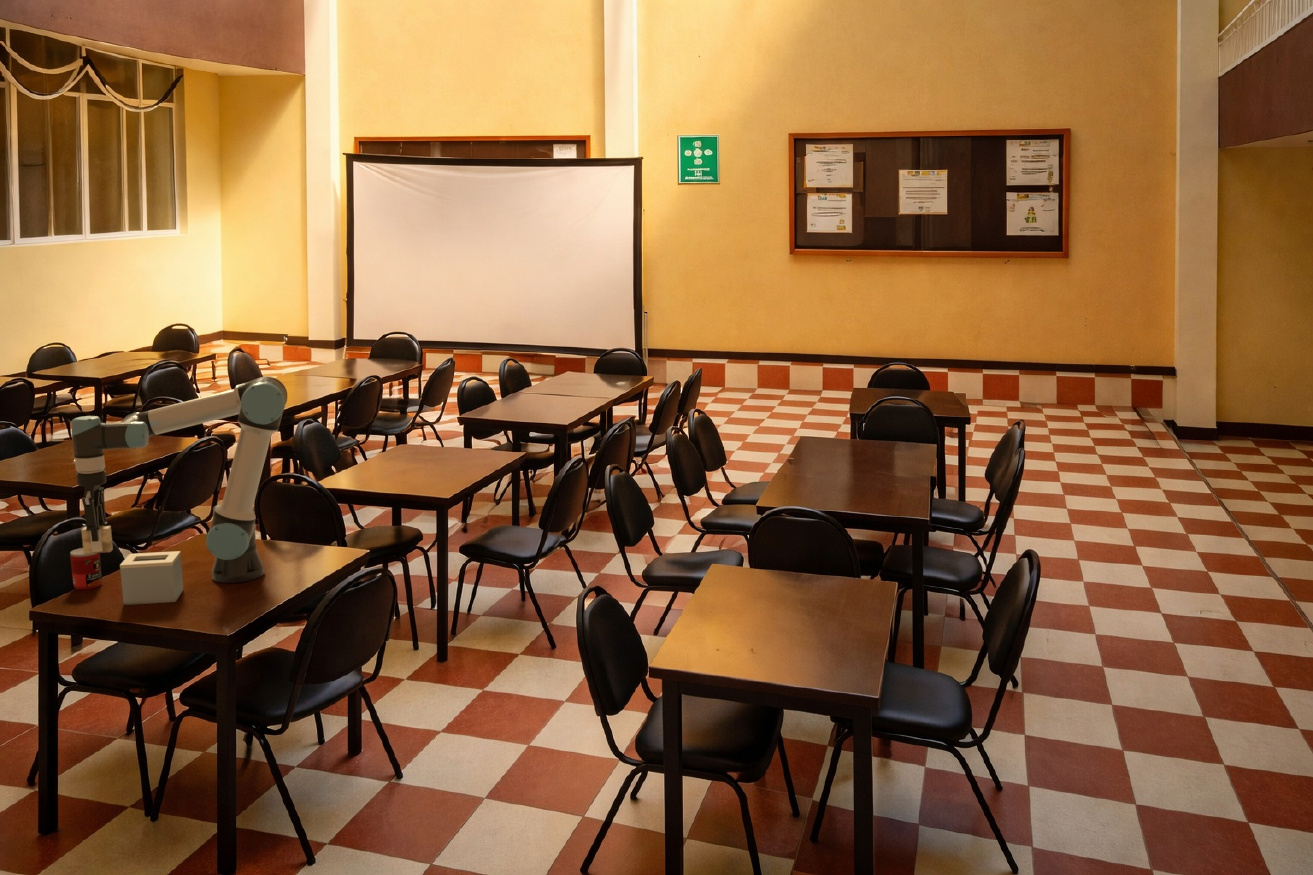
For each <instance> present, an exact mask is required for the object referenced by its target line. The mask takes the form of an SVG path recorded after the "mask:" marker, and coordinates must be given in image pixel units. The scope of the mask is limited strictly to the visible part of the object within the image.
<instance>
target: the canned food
mask: <svg viewBox="0 0 1313 875" xmlns="http://www.w3.org/2000/svg"><path fill="white" fill-rule="evenodd" d="M69 556H70V564H71V574H72V575H71V576H72V583H73V588H74V589H76V590H82V591H83V590H84V591H85V590H92V589H95V588H96V589H97V588H98V587H101V586H102V582H103V577H102V567H101V555H100V553H84V551H83V547H79V548H77V549H73V550H71V551H70V554H69Z"/></svg>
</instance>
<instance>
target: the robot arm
mask: <svg viewBox="0 0 1313 875" xmlns="http://www.w3.org/2000/svg"><path fill="white" fill-rule="evenodd" d="M287 402H288V390H287V388H286V386H285V384H283V382H282V381H280V380H279V379H277V378H276V377H272V376H261V377H257V378H255V379H252V380H250V381H248V382H243V383H241V384H237V385H236V386H235V388H234V389H230V390H226V391H221V392H217V393H215V394H210V395H206V396H202V397H198V398H194V399H190V400H187V401H183V402H177V403H174V404H171V405H166V406H162V407H158V408H155V409H150V410H147V411H141V412H133V413H130V414H128V415H126V416H125V417H124V418H123V419H122V420H121V421H120V422H111V423H109V422H108V423H107V422H106V423H105V422H102V421H101V418H100V416H97V415H96V416H95V415H86V416H79V417H75V418H73V419H72V420H71V422H70V423H71V425H70V426H71V434H70V436H71V440H72V446H73V447H72V448H73V454H74V455H73V456H74V459H73V461H72V462H73V464H75V471H76V474H75V475H76V484H77V485H78V486H79V487H83V488H84V492H83V497H82V498H81V502H82V506H83V512H84V518H85V524H86V526H85V527H87V529H86V531H90V538H91V547H92V552H102V551H103V547H102V538H101V529H99V526H108V521H107V517H106V514H107V513H106V505H105V503H106V502H105V488H104V487H101V486H102V485H104V484H106V483H107V480H108V479H107V474H106V472H107V471H106V469H105V468H106V462H105V453H104V450H119V449H120V450H123V449H124V450H125V449H133V450H134V449H140V448H145V447H147V446H148V445H149V442H150V437H153V436H158V435H161V434H164V433H169V432H172V431H177V430H181V429H185V428H189V427H193V426H197V425H201V424H204V423H208V422H212V421H216V420H220V419H225V418H229V417H232V416H236V415H238V417H237V418H238V419H237V422H238V424H239V426H240V432H239V435H238V441H237V444H236V447H235V452H234V455H233V460H232V462H231V468H230V471H229V475H228V479H227V484H226V487H225V491H224V494H223V499H222V503H221V504H218V505H215V506H213V509H212V510H213V512H212V515H213V516H212V520H211V523H210V526H209V530H208V532H207V533H206V537H205V541H206V547H207V549H208V551H209V552H210V553H211V554H212V555H213V556H214V557H215V559H214V562H213V566H212V569H211V578H212V580H213V581H215V582H216V583H217V582H218V583H223V584H235V583H236V584H237V583H245V582H249V581H253V580H256V579H259V578H261V577H262V576H264V574H265V568H264V564H263V561H262V559H261V557H260V555H259V552H258V550H257V540H256V539H257V537H256V526H255V522H256V512H255V510H254V504H255V500H256V496H257V492H258V488H259V484H260V481H261V477H262V473H263V469H264V467H265V466H264V464H265V461H266V458H267V454H268V450H269V446H270V442H271V439H272V435H273V434H274V433H276V432H278V431H279V429H280V426H281V422H282V417H283V413H284V410H285V406H286V404H287ZM102 553H103V552H102Z"/></svg>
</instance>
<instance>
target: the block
mask: <svg viewBox="0 0 1313 875" xmlns="http://www.w3.org/2000/svg"><path fill="white" fill-rule="evenodd" d="M86 529H87V527H86V526H84V527H83V528H81V538H82V539H81V540H82V548H83V551H84V553H99V554H100V553H101V554H102V553H111V552H112V551H113V549H114V548H113V536H112V526H111V525H103V526H99V529H101V538H102V547H103V551H102V552H92V547H91V538H90V531H86Z"/></svg>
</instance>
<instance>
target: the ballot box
mask: <svg viewBox="0 0 1313 875" xmlns="http://www.w3.org/2000/svg"><path fill="white" fill-rule="evenodd" d="M119 570H120V580H121V582H120V583H121V590H122V601H123V606H128V605H129V606H130V605H132V606H133V605H146V604H159V603H161V604H164V603H175V602H177V600H178V599H179V597H180V596H181V595H182V593H183V591H184V580H183V578H184V577H183V567H182V555H181V550H178V551H175V550H174V551H161V552H160V551H158V552H157V551H155V552H142V553H141V552H139V553H129V554H128V555H127V556H126V557H125V558H124V560H123V561H122V562H121V563H120V564H119Z"/></svg>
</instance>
